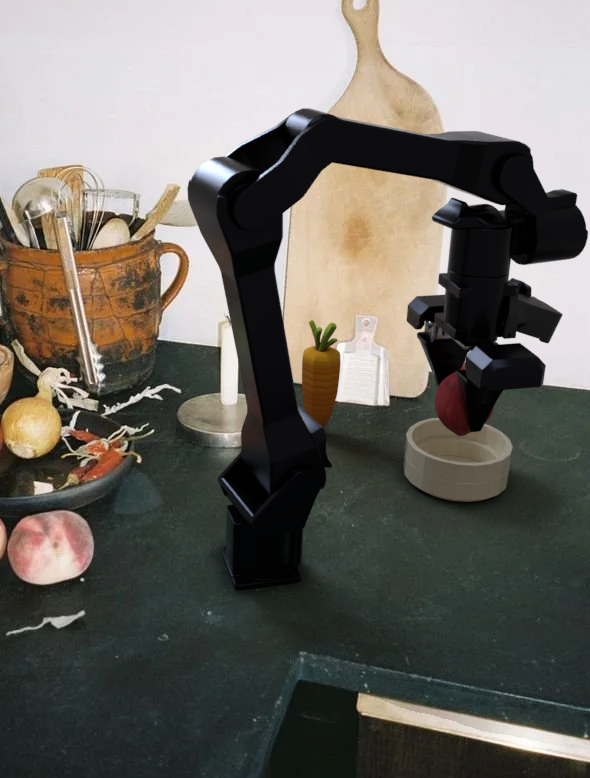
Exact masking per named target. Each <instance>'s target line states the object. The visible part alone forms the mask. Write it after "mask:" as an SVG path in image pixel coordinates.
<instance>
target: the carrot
mask: <svg viewBox="0 0 590 778" xmlns="http://www.w3.org/2000/svg"><path fill="white" fill-rule="evenodd" d="M308 325H309V328H310V329H311V332H312V336H313V339H314V345H312V346H309V347H307V348H305V349H304V350H303V353H302V360H301V393H302V401H303V407H304V411H305V412H306V413H307V414H308V415H309V416H311V417H312V418H313V419H314V420H315V421H316V422H317V423H318V424H319V425H321V426H322V427H323V428H324V429H325V427H326V426H327V424H328V422H329V420H330V418H331V417H332V414H333V411H334V408H335V404H336V401H337V395H338V391H339V383H340V373H341V353H340V351H339V350H338V349H336V348H334V347H332V346H333V345H334V344H335V343H337V342H338V339H337V338H335V337H333V338H331V337H332V336H333V334H334V333H335V331H336V330H337V327H338V326H337V324H336V323H334V322H330V323H328V324H327V326H326V327H325V328H324V331H323V328H322V327H321V326H318V327H317V325H316V323H315V320H313V319H311V320H309V321H308ZM322 333H323V334H322ZM321 336H322V337H321Z"/></svg>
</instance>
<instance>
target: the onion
mask: <svg viewBox="0 0 590 778" xmlns="http://www.w3.org/2000/svg"><path fill="white" fill-rule="evenodd" d="M460 370H465V363H464V364H463V366H462V368H461V369H460ZM494 409H495V406H494V407H493V409H492V411H491V413H490V414H489V416H488V418H487V420H486V422H485V424H486V423H487V422H488V421H489V419H490V418H492V415H493V412H494ZM434 411H435V413H436V416H437V418H439V419H440V421H441V422H442V423H443V425H444V426H445V427H446V428H448V429H449V430H450V431H452V432H453V433H455V434H456V435H458V436H464V435H466V434H468V433H471V431H470V430H469V427H468V424H467V420H466V416H465V411H464V407H463V402H462V398H461V393H460V388H459V384H458V380H457V375H456V372H454V373H452V374H451V375H449V376H448V377H446V378H445V379H444V380H443V381H442V382H441V383H440V385H439V386H438V387H437V389H436V391H435V396H434Z"/></svg>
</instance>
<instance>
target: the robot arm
mask: <svg viewBox="0 0 590 778" xmlns="http://www.w3.org/2000/svg"><path fill="white" fill-rule="evenodd" d="M331 164H337V165H343V166H349V167H355V168H361V169H367V170H373V171H378V172H385V173H390V174H396V175H402V176H410V177H414V178H421V179H425V180H426V179H427V180H431V181H434V182H436V183H439V184H441V185H443V186H446V187H448V188H451V189H453V190H456V191H459V192H461V193H464V194H467V195H470V196H473V197H476V198H479V199H481V200H484V201H487V202H490V203H492V205H491V204H489V203H478V204H468V203H467V202H466V201H464V200H461V199H458V198H455V197H451V198H450V199H449V200H448V202H447V203H446V204H445V205H444V206H442V207H441V208H439V209H438V210H437V211H436V212H434V214H432V216H431V220H432V222H433V223H436V224H438V225H441V226H443V227H446V228H448V229H451V230H450V241H449V250H448V261H447V269H446V270H447V271H446V272H439V273H438V281H437V284H438V285H440V286H441V287H442V288H444V289H445V290H444V294H432V295H417V296H415V297H414V298H413V299H412V300H411V301H410V302H409V303H408V304H407V310H406V311H407V312H406V323H408V324H409V325H410V326H411V327H412V328H413V329H414V330H415V331H417V330H422V329H423V328H424V329H423V330H424V331H418V332H417V333H416V338H417V339H418V341H419V343H420V345H421V347H422V350H423V352H424V355H425V358H426V360H427V362H428V365H429V367H430V371H431V373H432V376H433V378H434V381H435V383H436V387H437V388H438V386H439V385H440V383H441V382H442V381H443V380H444V379H445V378H446V377H448V376H449V375H451V374H452V373H454V372H456V375H457V380H458V384H459V388H460V393H461V398H462V402H463V407H464V411H465V416H466V420H467V424H468V427H469V430H470V431H471V432H479V431H481V430H482V428H483V426H484V424H486V423H487V422H486V420H487V418H488V416H489V414H490V413H491V411H492V409H493V410H494V408H495V405H496V403H497V401H498V400H499V398H500V396H501V395H502V393H503V392H504V391H506V390H507V391H508V390H519V389H521V390H522V389H533V388H541V387H542V386H543V385H544V382H545V381H544V380H545V374H546V366H547V365H546V364H545V363H544V361H542V359H541V358H540V357H539V356H538V355H536V354H535V353H534V352H533V351H531V350H530V349H529V348H527V347H526V346H524V345H523V344H522V343H521V342H515V343H513V342H512V343H500V344H499V343H498V342H497V341H498V338H502V339H503V340H506V339H507V340H508V339H509V340H510V339H516V337H517V333H519V334H522V335H526V336H529V337H531V338H535V339H538V340H539V341H540V342H541V343H544V344H549V343H550V342H551V340H552V338H553V336H554V334H555V331H556V329H557V327H558V325H559V323H560V321H561V319H562V317H563V313H562V312H560V311H559V310H557V309H555V308H554V307H553V306H551V305H549V304H548V303H546V302H545V301H542V300H540V299H539V298H537V297H535V296H533V295H532V286H530V285H529V284H528V283H526V282H525V281H522V280H520V279H517V278H514V277H511V278H510V269H511V261H513V262H514V263H516V264H517V265H520V266H521V265H522V266H529V265H534V264H543V263H551V262H557V261H558V262H559V261H566V260H572V259H575V258H577V257H579V256H580V255H581V254H582V252H583V251H584V249H585V248H586V245H587V241H588V237H589V230H588V229H587V223H586V220H585V217H584V215H583V212H582V210H580V208H579V206H577V200H578V194H577V192H573V191H570V190H567V189H563V188H560V189H553V190H550V191H547V192H546V190H545V187H544V186H543V184H542V182H541V180H540V178H539V176H538V175H537V172H536V169H535V167H534V157H533V155H532V149H531V147H530V146H529V145H528V144H526V143H524V142H521V141H519V140H514V139H511V138H508V137H503V136H499V135H495V134H491V133H488V132H484V131H479V130H460V131H459V130H458V131H457V130H455V131H453V130H452V131H445V132H444V131H443V132H440V133H422V132H417V131H413V130H407V129H402V128H396V127H392V126H386V125H381V124H376V123H372V122H366V121H360V120H355V119H351V118H346V117H340V116H336V115H334V114H331V113H328V112H325V111H322V110H321V111H320V110H317V109H313V108H310V107H308V108H306V107H304V108H300V109H298V110H296V111H294V112H293V113H291V114H289V115H288V116H287V117H285V118H284V119H282V120H281V121H280V122H279V123H277V124H276V125H275V126H273V127H271V128H269V129H267V130H265V131H263V132H261V133H259V134H256V135H255V136H252V137H251V138H249V139H246V140H245V141H243V142H241V143H239V144H238V145H237V146H235V147H234V148H233V149H232V150H230V151H228V152H227V153H226V154H225V155H223V156H216V157H212V158H210V159H208V160H206V161H204V162H203V163H202V164H201V165H200V166H198V167H197V168H196V170H195V171H194V172H193V175H192V177H191V178H189V180H188V183H187V188H186V189H187V201H188V204H189V207H190V210H191V212H192V214H193V218H194V220H195V222H196V224H197V227H198V229H199V233H200V235H201V236H202V238H203V240H204V242H205V244H206V245H207V248H208V249H209V251H210V253H211V254H212V257H213V259H214V260H215V262H216V264H217V266H218V268H219V270H220V274H221V275H220V276H221V280H222V285H223V288H224V289H223V290H224V295H225V300H226V305H227V310H228V315H229V321H230V326H231V331H232V335H233V341H234V346H235V347H234V348H235V352H236V357H237V362H238V367H239V372H240V377H241V382H242V386H243V387H242V388H243V392H244V397H245V403H246V414H245V418H244V421H243V423H242V424H243V425H242V427H241V430H240V445H241V446H240V450H241V451H240V452H239V453H238V455H236V456H235V458H234V459H233V460H232V461H231V462H230V463H229V464H228V466H227V467H226V468H225V469H224V470H223V471H222V472H221V473H220V474H219V476H217V482H218V484H219V487H220V490H221V492H222V494H223V495H224V497H226V498H227V499H228V500H229V502H230V503H231V504H227V505H226V523H225V524H226V525H225V526H226V527H225V528H226V529H225V537H226V539H225V545H224V546H222V547H221V556H222V558H223V561H224V563H225V567H226V569H227V571H228V575H229V577H230V580H231V582H232V585H233V587H234V589H237V590H244V589H251V588H252V589H253V588H259V587H267V586H275V585H284V584H292V583H298V582H301V580H302V572H301V570H300V569H299V567H298V566H299V565H301V563H302V560H303V541H304V540H303V539H304V538H303V537H304V529H305V527H306V525H307V522H308V520H309V517H310V514H311V512H312V509H313V507H314V504H315V502H316V500H317V497H318V495H319V493H320V491H321V490H323V489H324V488H325V486H326V483H327V469H331V468H332V467H333V464H332V463H331V461H330V459H329V458H328V455H327V435H326V430H325V427H324V428H323V427H322V426H321V425H319V424H318V423H317V422H316V421H315V420H314V419H313V418H312V417H311V416H309V415H308V414H307V413H306V412H305V409H303V408H302V407H301V406H300V405H298V399H297V395H296V388H295V383H294V375H293V370H292V365H291V359H290V353H289V346H288V341H287V335H286V329H285V323H284V317H283V310H282V305H281V299H280V293H279V288H278V282H277V276H276V275H277V274H276V261H277V259H278V255H279V251H280V249H281V245H282V242H283V239H284V213H286V212H287V211H288V210H289V209H291V208H292V207H293V206H294V205H295V204H297V203H298V202H299V201H301V200H302V199H303V198H304V197H305V195H306V194H307V193H308V191H309V190H310V188H311V187H312V186H313V184H314V183H315V181H316V180H317V179H318V177H319V175H320V174H321V173H322V171H323V170H325V169H326V168H327V167H328V166H330V165H331ZM493 204H495V205H499V206H504V209H502V210H500V209H498V208H497V207H495V206H494V205H493ZM464 363H465V370H460V369H461V368H462V366H463V364H464ZM493 407H494V408H493ZM487 421H488V420H487ZM485 422H486V423H485ZM326 468H327V469H326Z"/></svg>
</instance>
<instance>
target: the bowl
mask: <svg viewBox="0 0 590 778" xmlns="http://www.w3.org/2000/svg"><path fill="white" fill-rule="evenodd" d="M404 446H405V447H404V456H403V467H402V468H403V473H404V476H405V478H406V479H407V480H408V481H409V483H410V484H411V485H413V486H415V487H416V488H417V489H419V490H420V491H422V492H424V493H425V494H427V495H431V496H432V497H435V498H437V499H438V498H439V499H442V500H446V501H451V502H459V503H471V502H479V501H484V500H488V499H490V498H493V497H497V496H499V495H501V493H502V492H504V491H505V490H506V489H507V486H508V484H509V478H510V477H509V475H510V470H511V463H512V457H513V449H514V446H513V443H512V442H511V439H510V438H509V437H508V436H507V435H506V434H505V433H504V432H502V431H501V430H499V429H497V428H496V427H493V426H492V425H489V424H486V423H485V424H484V426H483V428H482V430H481V431H479V432H471V433H468V434H466V435H464V436H458V435H456V434H455V433H453V432H452V431H450V430H449V429H448V428H446V427H445V426H444V425H443V423H442V422H441V421H440V419H439V418H438V417H431V418H427V419H424V420H420V421H417V422H416V423H414V424H412V425H410V427H409V429H408V431H407V432H406V434H405V445H404Z"/></svg>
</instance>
